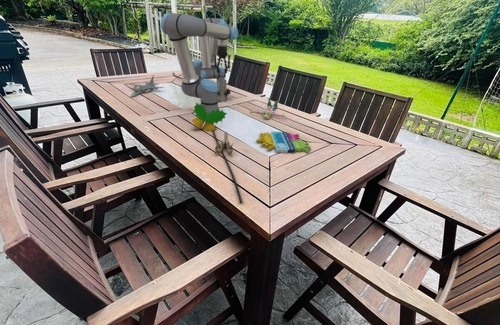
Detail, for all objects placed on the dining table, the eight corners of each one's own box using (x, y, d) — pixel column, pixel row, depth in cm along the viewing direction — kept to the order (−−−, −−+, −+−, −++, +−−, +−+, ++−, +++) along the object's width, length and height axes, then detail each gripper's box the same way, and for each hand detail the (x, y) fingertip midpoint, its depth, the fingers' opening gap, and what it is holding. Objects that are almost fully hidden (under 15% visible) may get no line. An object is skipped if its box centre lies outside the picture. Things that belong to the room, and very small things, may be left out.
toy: (290, 101, 205) (286, 112, 179) (289, 110, 208) (285, 122, 182) (256, 97, 210) (247, 107, 184) (255, 106, 213) (246, 117, 187)
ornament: (218, 133, 171) (224, 110, 169) (221, 134, 163) (227, 111, 161) (186, 125, 162) (192, 101, 160) (189, 126, 155) (195, 101, 153)
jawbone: (234, 135, 144) (233, 125, 135) (233, 160, 138) (232, 151, 129) (217, 135, 144) (216, 125, 135) (216, 160, 138) (214, 150, 129)
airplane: (124, 87, 237) (122, 75, 232) (159, 84, 250) (158, 74, 245) (128, 99, 208) (126, 87, 203) (168, 96, 222) (167, 84, 217)
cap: (224, 76, 213) (224, 73, 211) (225, 77, 209) (225, 74, 208) (218, 76, 211) (218, 73, 210) (219, 77, 208) (219, 74, 207)
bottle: (225, 102, 217) (226, 76, 206) (217, 101, 216) (217, 75, 206) (226, 99, 223) (226, 74, 213) (217, 99, 223) (217, 73, 212)
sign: (313, 150, 142) (258, 149, 139) (312, 153, 143) (258, 152, 140) (301, 132, 164) (254, 130, 161) (301, 134, 165) (254, 133, 162)
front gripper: (211, 45, 194) (211, 77, 206) (234, 46, 197) (233, 78, 208) (210, 44, 201) (211, 75, 212) (233, 45, 204) (232, 76, 215)
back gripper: (232, 92, 235) (234, 99, 216) (209, 91, 232) (209, 99, 213) (232, 84, 232) (234, 90, 212) (209, 83, 229) (209, 89, 209)
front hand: (222, 77), depth 210 cm, fingers closed on cap, 4 cm apart
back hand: (222, 94), depth 212 cm, fingers closed on bottle, 7 cm apart
